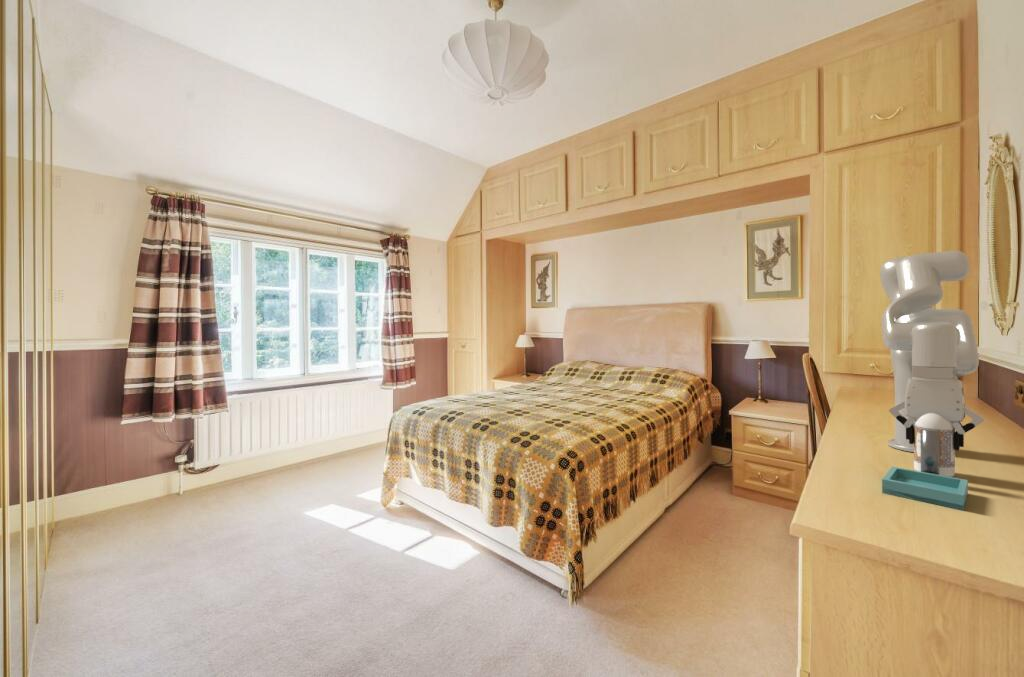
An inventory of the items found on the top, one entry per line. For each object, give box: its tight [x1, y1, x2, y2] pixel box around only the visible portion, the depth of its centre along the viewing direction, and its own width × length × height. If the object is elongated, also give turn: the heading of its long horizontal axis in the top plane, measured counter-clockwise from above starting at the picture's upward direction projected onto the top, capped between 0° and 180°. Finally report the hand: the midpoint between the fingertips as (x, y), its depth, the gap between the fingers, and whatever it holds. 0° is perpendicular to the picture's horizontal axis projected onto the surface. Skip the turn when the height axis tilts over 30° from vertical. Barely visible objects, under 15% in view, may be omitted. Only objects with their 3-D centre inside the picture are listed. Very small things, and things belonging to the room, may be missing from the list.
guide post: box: [921, 429, 939, 475], centre depth 95 cm, size 5×5×12 cm
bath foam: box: [913, 413, 956, 477], centre depth 100 cm, size 7×7×20 cm
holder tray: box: [881, 466, 969, 512], centre depth 89 cm, size 12×12×3 cm
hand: (933, 445), depth 100 cm, fingers closed on bath foam, 7 cm apart
